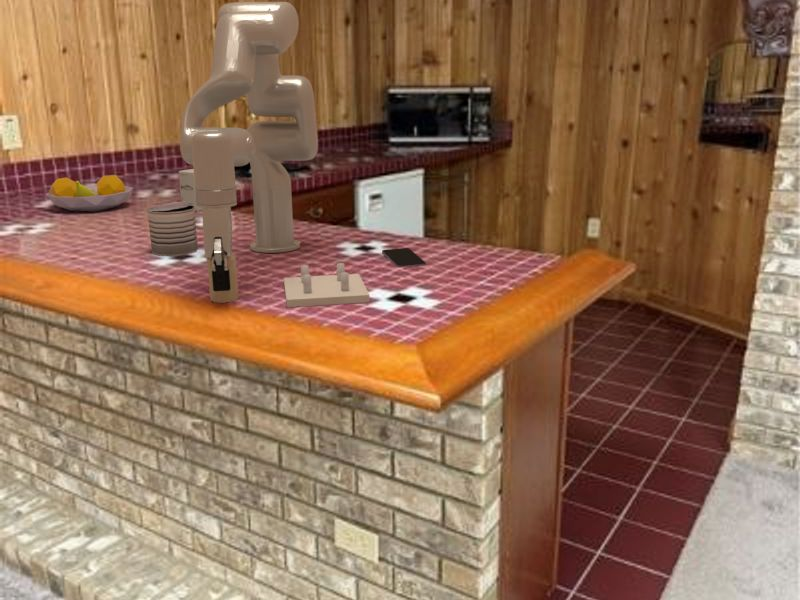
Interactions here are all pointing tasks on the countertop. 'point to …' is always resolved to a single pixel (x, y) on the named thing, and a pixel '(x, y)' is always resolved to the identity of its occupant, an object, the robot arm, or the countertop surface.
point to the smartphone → (403, 257)
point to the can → (172, 229)
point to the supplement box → (188, 187)
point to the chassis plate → (325, 288)
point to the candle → (233, 292)
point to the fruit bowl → (89, 194)
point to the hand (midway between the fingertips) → (223, 283)
